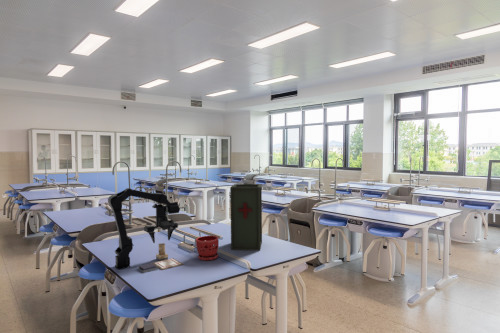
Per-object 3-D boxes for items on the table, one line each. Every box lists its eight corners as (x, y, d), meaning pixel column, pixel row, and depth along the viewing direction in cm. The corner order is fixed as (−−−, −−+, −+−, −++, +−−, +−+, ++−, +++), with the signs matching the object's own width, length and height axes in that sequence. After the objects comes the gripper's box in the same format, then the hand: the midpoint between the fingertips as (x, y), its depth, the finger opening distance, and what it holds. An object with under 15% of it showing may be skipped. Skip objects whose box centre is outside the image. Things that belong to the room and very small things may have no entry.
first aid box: (261, 242, 224) (261, 184, 222) (260, 250, 206) (259, 187, 204) (235, 241, 226) (234, 184, 224) (231, 249, 208) (230, 187, 206)
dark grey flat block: (143, 272, 169) (142, 269, 169) (138, 269, 174) (137, 265, 174) (157, 269, 174) (157, 265, 174) (152, 265, 180) (152, 262, 179)
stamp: (159, 261, 188) (159, 245, 187) (156, 258, 191) (155, 244, 191) (167, 259, 191) (167, 244, 190) (164, 257, 195) (163, 242, 194)
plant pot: (215, 253, 200) (215, 234, 200) (221, 260, 188) (221, 239, 188) (194, 256, 196) (193, 236, 195) (198, 263, 184) (198, 241, 183)
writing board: (161, 270, 173) (161, 269, 173) (151, 263, 183) (151, 262, 183) (183, 264, 181) (183, 263, 181) (173, 258, 191) (173, 257, 191)
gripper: (151, 219, 178) (151, 247, 178) (182, 214, 190) (182, 241, 190) (143, 216, 186) (143, 243, 187) (173, 212, 198) (173, 237, 199)
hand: (161, 241), depth 191 cm, fingers open, 9 cm apart
